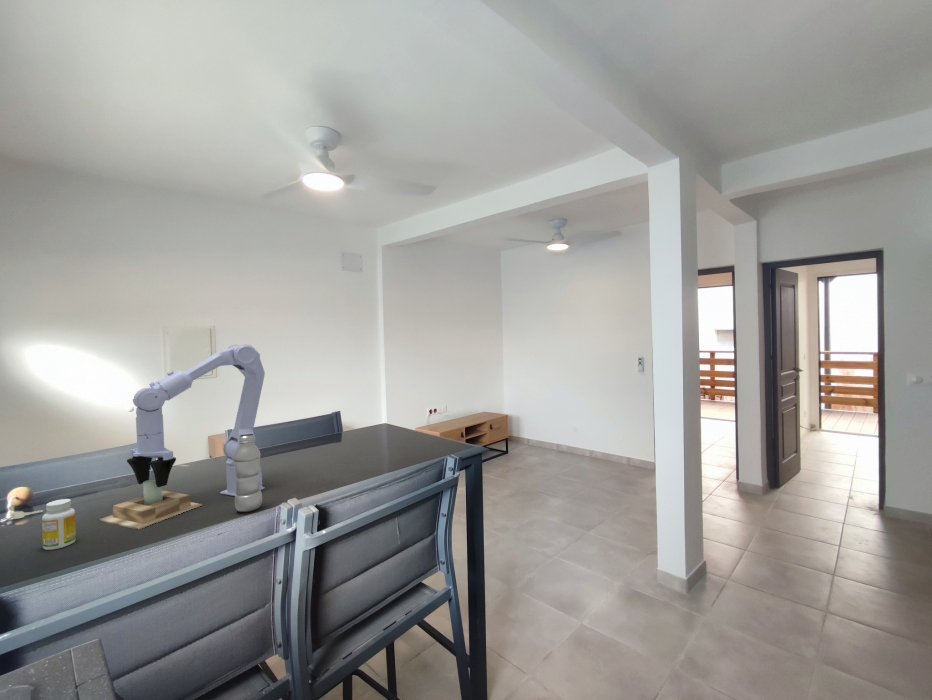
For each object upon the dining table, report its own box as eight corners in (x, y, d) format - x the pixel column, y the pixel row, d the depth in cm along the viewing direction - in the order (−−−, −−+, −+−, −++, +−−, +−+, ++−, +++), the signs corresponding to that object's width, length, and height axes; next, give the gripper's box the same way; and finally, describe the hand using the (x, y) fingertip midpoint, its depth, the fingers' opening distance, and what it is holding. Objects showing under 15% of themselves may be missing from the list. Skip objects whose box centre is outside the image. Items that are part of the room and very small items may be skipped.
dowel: (167, 508, 114) (165, 478, 113) (153, 514, 110) (151, 483, 110) (154, 507, 114) (153, 478, 114) (140, 513, 111) (138, 483, 110)
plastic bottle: (268, 506, 114) (266, 433, 114) (247, 516, 108) (245, 438, 108) (249, 504, 117) (247, 431, 116) (228, 513, 110) (226, 437, 110)
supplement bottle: (44, 553, 91) (42, 508, 91) (41, 545, 94) (39, 503, 94) (78, 543, 95) (76, 501, 95) (74, 537, 98) (72, 495, 98)
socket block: (202, 505, 116) (202, 493, 116) (139, 530, 101) (138, 515, 101) (164, 498, 122) (164, 487, 122) (99, 520, 107) (98, 507, 107)
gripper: (116, 435, 111) (118, 486, 111) (151, 438, 105) (154, 492, 105) (145, 429, 117) (147, 478, 117) (180, 432, 112) (182, 483, 112)
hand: (152, 484), depth 112 cm, fingers open, 7 cm apart
